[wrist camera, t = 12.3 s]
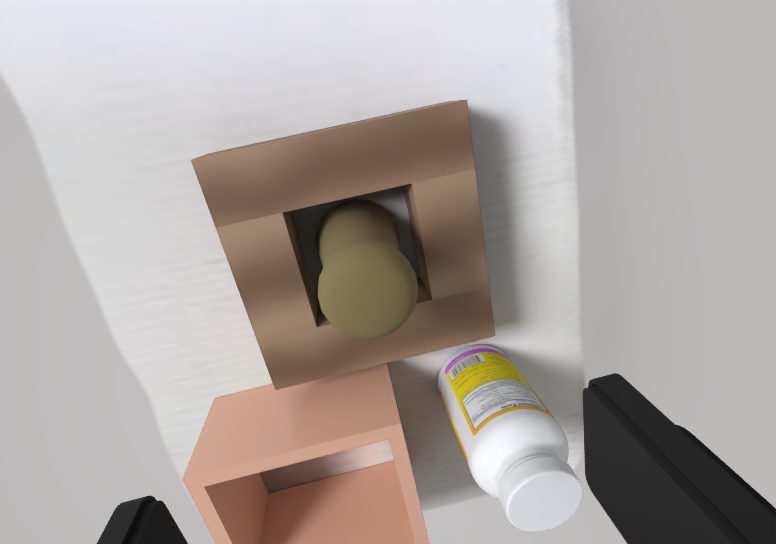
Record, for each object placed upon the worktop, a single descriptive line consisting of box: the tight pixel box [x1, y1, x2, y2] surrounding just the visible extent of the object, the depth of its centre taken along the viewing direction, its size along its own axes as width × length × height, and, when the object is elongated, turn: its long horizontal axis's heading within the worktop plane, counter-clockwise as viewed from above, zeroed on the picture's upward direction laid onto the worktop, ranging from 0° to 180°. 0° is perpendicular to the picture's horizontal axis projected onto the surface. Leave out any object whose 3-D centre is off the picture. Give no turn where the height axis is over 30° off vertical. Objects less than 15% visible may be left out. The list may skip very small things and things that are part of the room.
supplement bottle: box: [438, 345, 583, 532], centre depth 30 cm, size 7×7×13 cm
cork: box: [316, 199, 418, 339], centre depth 25 cm, size 6×6×11 cm
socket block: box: [191, 100, 495, 390], centre depth 29 cm, size 16×16×4 cm
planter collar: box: [182, 363, 430, 544], centre depth 32 cm, size 12×14×8 cm
